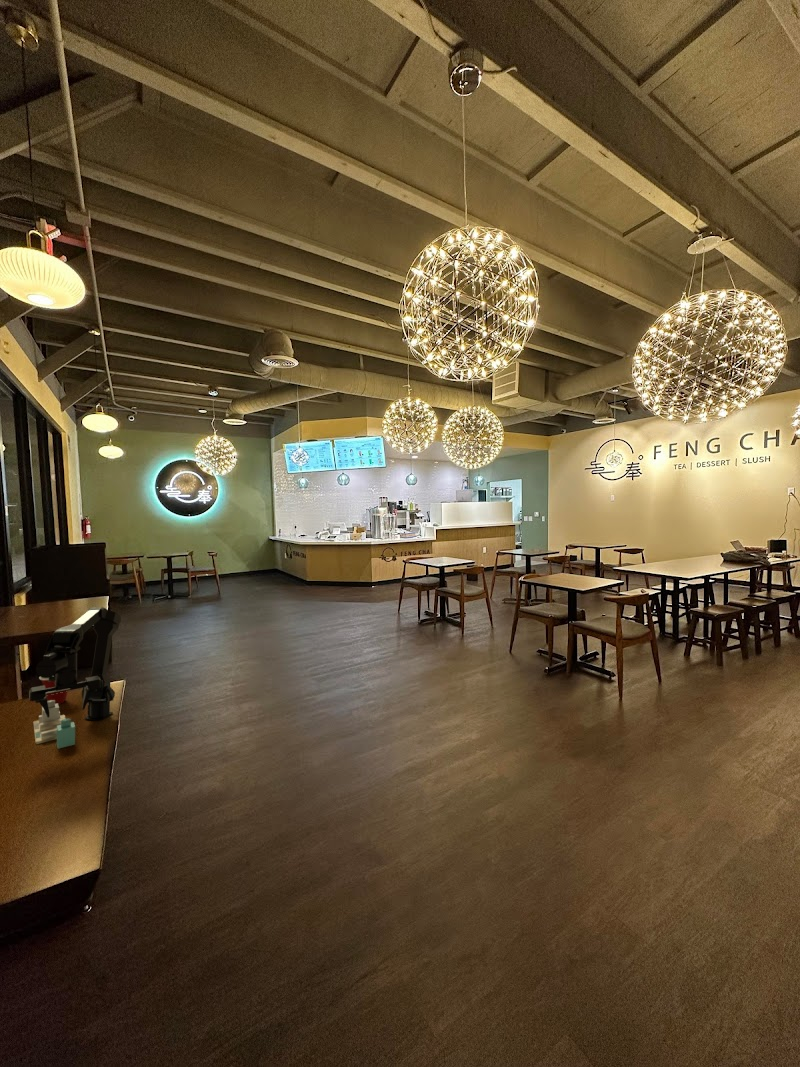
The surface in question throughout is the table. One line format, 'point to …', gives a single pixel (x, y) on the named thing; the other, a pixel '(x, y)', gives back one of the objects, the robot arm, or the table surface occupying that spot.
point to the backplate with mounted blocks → (46, 729)
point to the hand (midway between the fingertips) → (66, 713)
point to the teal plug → (65, 733)
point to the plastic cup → (57, 697)
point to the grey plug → (51, 712)
